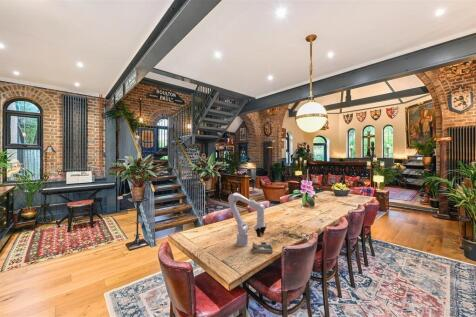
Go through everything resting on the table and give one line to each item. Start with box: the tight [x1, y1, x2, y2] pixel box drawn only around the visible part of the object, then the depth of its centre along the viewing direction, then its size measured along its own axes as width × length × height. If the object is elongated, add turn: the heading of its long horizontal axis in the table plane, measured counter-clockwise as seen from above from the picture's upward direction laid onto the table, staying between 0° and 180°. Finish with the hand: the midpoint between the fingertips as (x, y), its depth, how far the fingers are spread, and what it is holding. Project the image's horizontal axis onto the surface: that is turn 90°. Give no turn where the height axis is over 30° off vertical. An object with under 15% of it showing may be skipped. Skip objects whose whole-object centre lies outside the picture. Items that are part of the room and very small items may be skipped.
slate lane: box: [253, 242, 273, 254], centre depth 163 cm, size 14×8×4 cm, turn 88°
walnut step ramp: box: [252, 242, 260, 253], centre depth 163 cm, size 6×8×5 cm
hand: (260, 236), depth 167 cm, fingers closed on brick-red rubber ball, 4 cm apart
